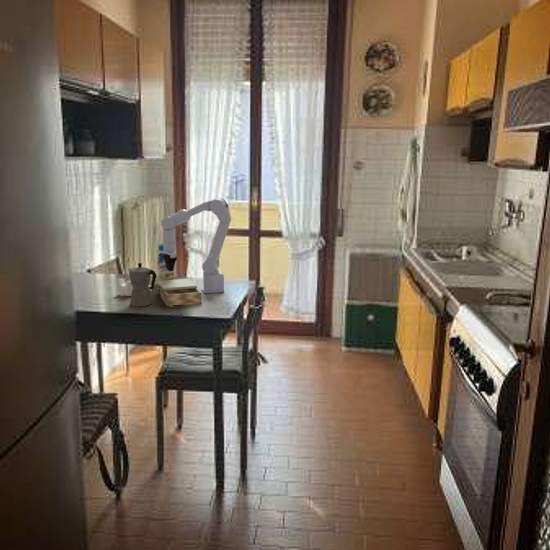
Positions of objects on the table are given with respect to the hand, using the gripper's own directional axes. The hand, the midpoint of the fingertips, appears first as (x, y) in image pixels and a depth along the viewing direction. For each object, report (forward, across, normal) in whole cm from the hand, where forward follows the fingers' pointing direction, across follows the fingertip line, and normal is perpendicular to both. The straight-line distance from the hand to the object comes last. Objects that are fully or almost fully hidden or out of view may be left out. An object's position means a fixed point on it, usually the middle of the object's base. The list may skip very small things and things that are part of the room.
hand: (170, 270), depth 259 cm
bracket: (+10, +4, -17) cm, 20 cm away
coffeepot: (+10, +24, -16) cm, 30 cm away
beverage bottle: (+10, -12, 0) cm, 16 cm away
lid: (+7, +14, 0) cm, 16 cm away
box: (+9, +23, 0) cm, 25 cm away
